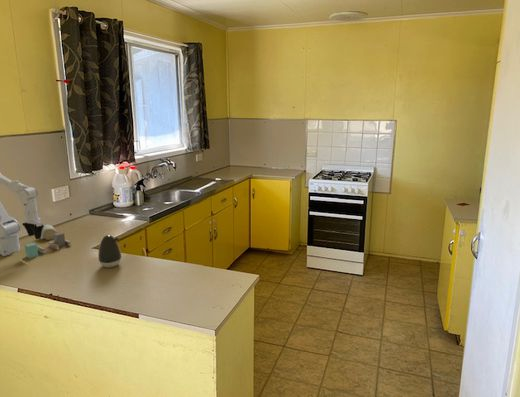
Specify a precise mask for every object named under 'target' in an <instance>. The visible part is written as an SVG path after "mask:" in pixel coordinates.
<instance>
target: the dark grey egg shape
mask: <svg viewBox="0 0 520 397" xmlns="http://www.w3.org/2000/svg"><path fill="white" fill-rule="evenodd" d="M118 240H119V237H114V236H112V235H110V234H106V235H104V236H103V237H102V239H101V241H100V243H99V248H98V262H99V263H100V265H101V266H102V267H104V268H115V267H117V266H118V265H119V264H120V263H121V259H122V253H121V249H120V246H119V243H118V242H117V241H118Z"/></svg>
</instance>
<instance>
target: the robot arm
mask: <svg viewBox="0 0 520 397" xmlns="http://www.w3.org/2000/svg"><path fill="white" fill-rule="evenodd" d="M0 185H2V186H5V187H7V190H8V191H10V192H11V193H13V194H15V195H17V196H18V198H19V199H20V201H21V204H22V207H23V214H24V217H23V223H22V224H20V223H19V221H17V220H16V218H15V217H13V216H10V215H9V214H8V212H7V211H6V209H5V207H4V205H3V204H2V202H1V201H0V255H1V256H2V257H6V256H10V255H13V253H15V252H19V251H20V250H21V245H20V240H19V234H20V231H21V229H22V227H21V225H22V226H23V227H24V228H25V230H26V233H27V235H28V236H29V237H32V236H34V238H35V240H39V239H41V238H42V236H41V233H42V229H43V227H44V225H45V224H42V222H41V220H42V218H41V217H39V213H38V206H37V199H36V198H37V197H38V190H37V189H36V188H35V187H34V186H28V185H26V184H23V183H22V182H20V180H11V179H10V178H8V177H6V176H5V175H3V174H2V173H1V172H0Z"/></svg>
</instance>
